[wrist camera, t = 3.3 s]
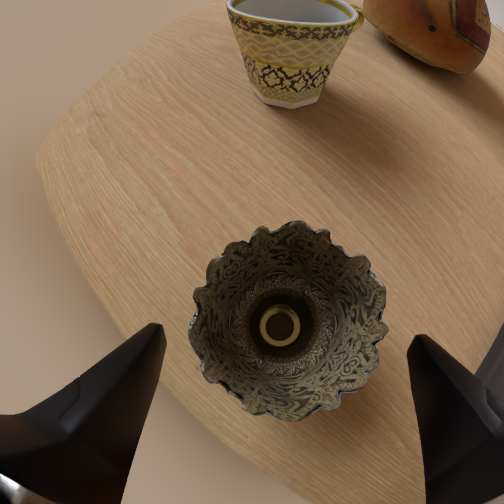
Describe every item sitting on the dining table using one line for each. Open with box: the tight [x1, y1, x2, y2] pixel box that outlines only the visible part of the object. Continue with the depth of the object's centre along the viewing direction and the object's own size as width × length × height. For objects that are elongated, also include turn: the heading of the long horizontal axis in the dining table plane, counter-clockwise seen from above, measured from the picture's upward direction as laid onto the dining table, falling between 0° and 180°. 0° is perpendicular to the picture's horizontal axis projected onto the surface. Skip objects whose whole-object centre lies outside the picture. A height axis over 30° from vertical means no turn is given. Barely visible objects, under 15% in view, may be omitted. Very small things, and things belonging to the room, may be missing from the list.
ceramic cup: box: [226, 0, 364, 109], centre depth 18 cm, size 13×10×10 cm
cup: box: [188, 220, 389, 422], centre depth 13 cm, size 8×7×8 cm
